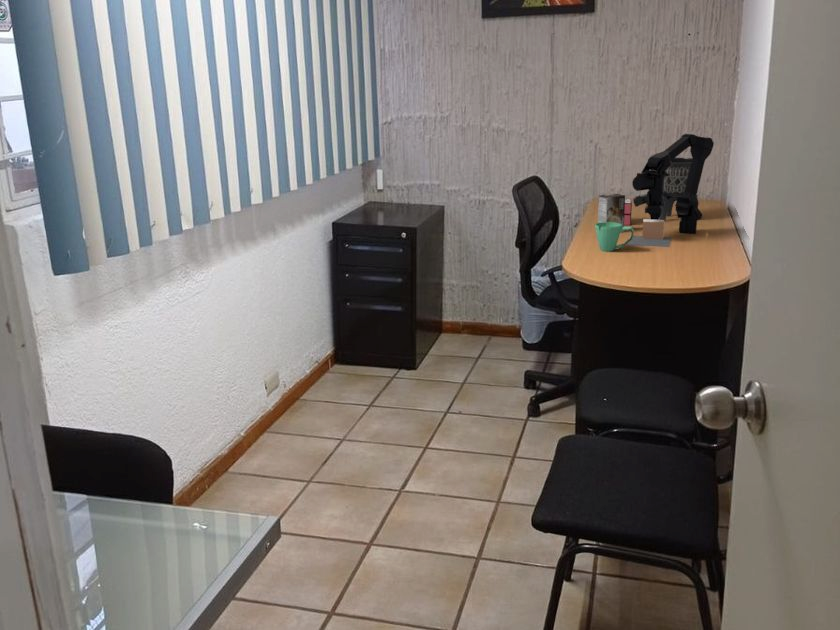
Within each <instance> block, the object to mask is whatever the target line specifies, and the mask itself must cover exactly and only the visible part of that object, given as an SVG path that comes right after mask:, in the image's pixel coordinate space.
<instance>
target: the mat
mask: <svg viewBox="0 0 840 630" xmlns="http://www.w3.org/2000/svg"><path fill="white" fill-rule="evenodd" d="M672 238H673V237H671V236H664V238H663V240H662V239H643V235H633V239H632V240H631V241H630V242H629V243H628V244H626V246H638V247H639V246H641V247H659V248H660V247H661V248H670V245H671V241H672Z"/></svg>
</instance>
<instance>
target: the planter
mask: <svg viewBox="0 0 840 630" xmlns="http://www.w3.org/2000/svg"><path fill="white" fill-rule="evenodd" d="M691 162H692V157H675V158H674V159H673V160H672V161H671V165H670V166H669V167H668V168H667V169H666V170H665V172H666V173H667V174H668V176H666V177H664V189H663V190H664V193H663V200H664V201H665V202H664V207H662V206H661V207H662V209H663V211H662V213H661V215H660V217H659V220H664V221H665V222H666V220H667V217H672V213H673V207H674V204H675V202H677V198H678V196H680V197H681V196H682V195H683V194H684V191H685V187H686V183H687V179H688V174H689V170H690V166H691ZM698 192H699V190H698V191H697V193H698Z"/></svg>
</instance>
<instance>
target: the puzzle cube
mask: <svg viewBox="0 0 840 630" xmlns="http://www.w3.org/2000/svg"><path fill="white" fill-rule="evenodd" d="M632 205H633V202H632V199H629V198H627V199H626V198H625V213H624V226H631V225H632V209H633V208H632V207H633V206H632Z"/></svg>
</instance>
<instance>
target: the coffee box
mask: <svg viewBox="0 0 840 630" xmlns="http://www.w3.org/2000/svg"><path fill="white" fill-rule="evenodd" d="M625 199H626V195H624V194H622V193H621V194H620V193H610V194H600V195H598V206H597V207H598V210H597V211H598V212H597V223H601V222H614V223H619V224H621V225H622V227H625V225H624V213H625ZM622 227H621V228H622ZM624 232H625V231H621V232H620V233H624Z"/></svg>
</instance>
